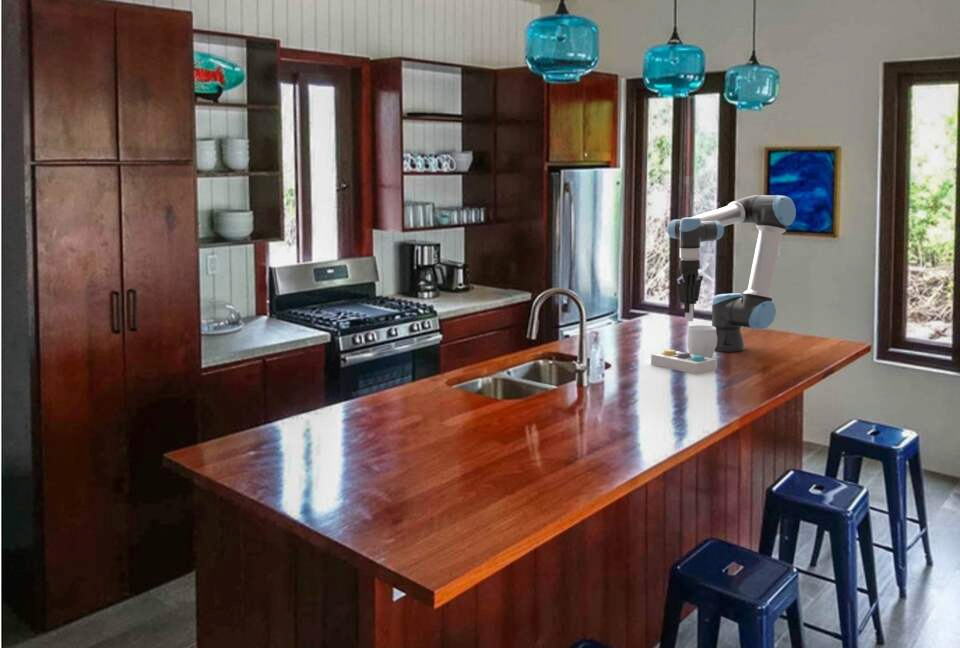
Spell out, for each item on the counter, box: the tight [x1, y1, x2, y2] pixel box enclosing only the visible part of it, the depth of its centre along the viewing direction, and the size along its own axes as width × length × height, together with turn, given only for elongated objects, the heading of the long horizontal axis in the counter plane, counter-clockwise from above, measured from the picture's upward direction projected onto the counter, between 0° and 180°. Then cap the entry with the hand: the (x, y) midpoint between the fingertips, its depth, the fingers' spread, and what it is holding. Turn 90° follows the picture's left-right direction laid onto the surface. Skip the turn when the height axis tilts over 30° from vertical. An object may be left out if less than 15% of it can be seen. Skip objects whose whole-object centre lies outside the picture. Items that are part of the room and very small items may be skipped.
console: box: [650, 350, 718, 375], centre depth 340 cm, size 12×22×4 cm, turn 36°
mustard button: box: [662, 349, 677, 356], centre depth 346 cm, size 5×5×4 cm
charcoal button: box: [677, 351, 690, 359], centre depth 340 cm, size 5×5×4 cm
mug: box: [686, 324, 717, 358], centre depth 352 cm, size 15×11×13 cm
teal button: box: [691, 355, 705, 362], centre depth 334 cm, size 5×5×4 cm
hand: (689, 320), depth 338 cm, fingers closed
